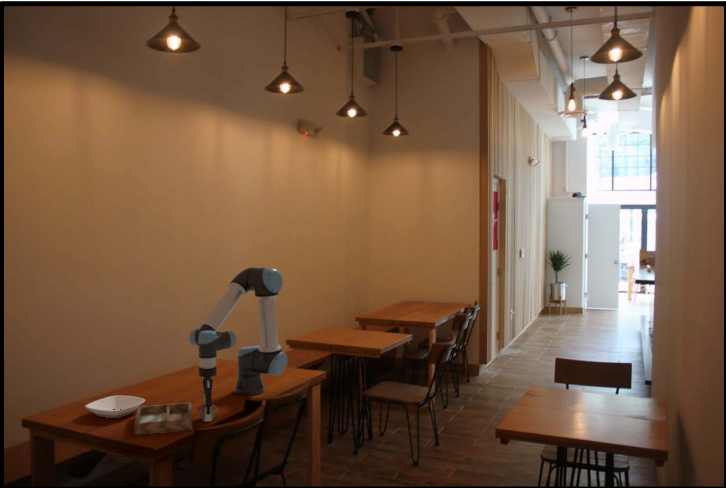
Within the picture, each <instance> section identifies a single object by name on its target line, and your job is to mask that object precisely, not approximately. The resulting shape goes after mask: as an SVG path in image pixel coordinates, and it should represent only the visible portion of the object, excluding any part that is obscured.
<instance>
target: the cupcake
mask: <svg viewBox="0 0 726 488" xmlns="http://www.w3.org/2000/svg"><path fill="white" fill-rule="evenodd" d="M204 402H205V394H204V393H203V403H202V404H201V405H199V406H198V407H197V414H199V416H200V419H201V421H202V422H205V407H204V405H205V404H204ZM207 404H209V403H207ZM218 410H219V409H218V406H217V405H215V404H214V403H212V406H211V421H210V422H212V421H213V419H214V417H215V414H216V413H217V412H218Z"/></svg>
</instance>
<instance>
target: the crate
mask: <svg viewBox="0 0 726 488" xmlns="http://www.w3.org/2000/svg"><path fill="white" fill-rule="evenodd" d="M133 427H134V430H133V431H134V435H138V434H150V433H161V432H171V431H182V432H188V431H187V430H192V431H193V413H192V402H177V403H176V402H175V403H167V404H166V403H164V404H154V405H151V404H150V405H142V406H141V405H140V406H139V407H138V408H137V409H136V416H135V420H134V426H133ZM161 434H162V433H161Z"/></svg>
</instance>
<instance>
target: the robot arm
mask: <svg viewBox="0 0 726 488" xmlns="http://www.w3.org/2000/svg"><path fill="white" fill-rule="evenodd" d="M283 281H284V280H283V276H282V274H281V273H280V271H279V270H277V269H276V268H270V267H248V268H245V269H243V270H242V271H240V272H239V273H238V274H237V275H236V276H234V278H233V279H232V280H231V281H230V282H229V284H228V288H227V290H226V292H225V293H224V294H223V296H222V297H221V299H220V300H219V301H218V302H217V304H216V305H215V306H214V307H213V309H212V311H210V313H209V315H208V316H207V317H206V319H205V320H204V322H203V323H202V325H200V327H199V328H194V329H192V331H190V332H189V342H190V344H192V345H194V346H195V347H196V346H197V347H198V359H197V360H196V362H198V367H199V368H198V376H199V377H200V378H203V379H202V384H203V385H202V387H203V395H204V394H205V402H204V401H203V404H205V405H204V407H205V421H204V422H206V423H207V422H212V421H211V406H212V404H213V403H212V391H213V378H212V377H216V375H217V364H218V363H217V360H218V359H217V351H222V350H227V349H231V348H233V347H235V345H236V344H237V335H236V334H235V332H233V331H231V330H229V331H227V330H225V331H219V330H220V328H221V327H222V325H223V324H224V323H225V321H226V320H227V318H228V317H229V316H230V314H231V312H233V310H234V308H235V307H236V305H237V304H238V302H239V301H241V298H242V297H245V296H246V295H247V293H249V292H251V291H252V292H254V297H255V298H256V299H257V301H258V315H259V316H258V317H259V330H260V331H259V332H260V333H259V334H260V344H261V345H249V346H244V347H241V348H239V349H238V351H237V379H236V382H235V385H234V393H235V394H237V395H241V396H255V395H259V394H262V393H264V392H265V385H264V382H263V381H264V380H263V378H262V375H269V376H279V375H281V374H282V373H284V371H285V369H286V367H287V365H288V355H287V354H286V352H283V348H282V345H280V344H279V332H278V329H279V328H278V316H277V301H276V299H277V298H276V297H278V296H279V292H280V291H281V290H282V287H283V283H284V282H283ZM207 403H209V404H207Z"/></svg>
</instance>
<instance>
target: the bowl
mask: <svg viewBox="0 0 726 488" xmlns="http://www.w3.org/2000/svg"><path fill="white" fill-rule="evenodd" d="M145 402H146V399H144V398H143V397H138V396H132V395H111V396H107V397H104V398H103V397H102V398H100V399H96V400H94V401H92V402H89V403H88V404H85V405H84V407H85V408H86V409H87V410H88V411H91V412H92V413H93V414H94V415H96V416H97V417H99V416H101V417H100V418H102V417H106V418H105V419H108V418H118V419H121V418H124V417H123V416H125V417H127V416H129V415H132V414H133V413H134V412H135V411H137V409H138V407H139V406H141V405H143V404H144V403H145ZM113 409H115V410H113ZM120 409H121V410H120ZM126 415H127V416H126ZM120 417H121V418H120Z"/></svg>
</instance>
